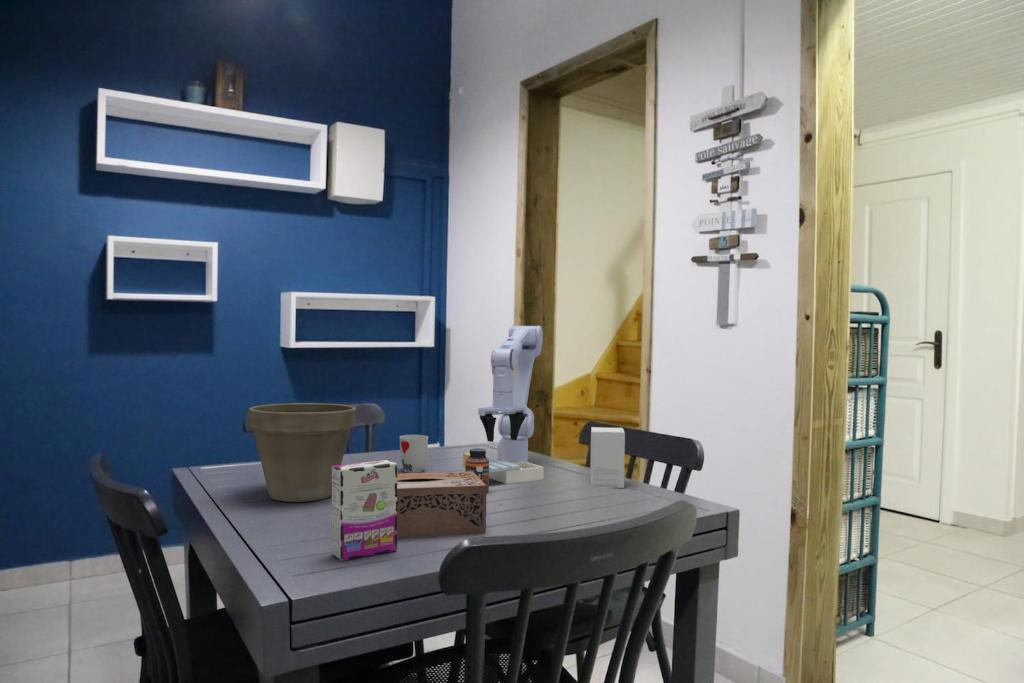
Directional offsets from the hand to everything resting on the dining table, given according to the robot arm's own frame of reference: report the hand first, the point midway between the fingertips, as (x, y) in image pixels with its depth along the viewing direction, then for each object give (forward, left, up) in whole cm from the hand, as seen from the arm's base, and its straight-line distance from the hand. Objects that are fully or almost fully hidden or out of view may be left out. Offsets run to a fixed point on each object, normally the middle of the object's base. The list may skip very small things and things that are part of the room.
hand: (502, 440), depth 199 cm
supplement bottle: (+14, -16, -11) cm, 24 cm away
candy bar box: (+44, -57, -11) cm, 73 cm away
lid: (+5, -7, -6) cm, 11 cm away
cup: (-19, -18, -11) cm, 28 cm away
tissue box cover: (+33, -41, -11) cm, 54 cm away
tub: (+5, +2, -10) cm, 12 cm away
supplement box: (+20, +21, -11) cm, 31 cm away
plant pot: (-5, -54, -11) cm, 55 cm away
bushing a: (+3, +4, -10) cm, 11 cm away
